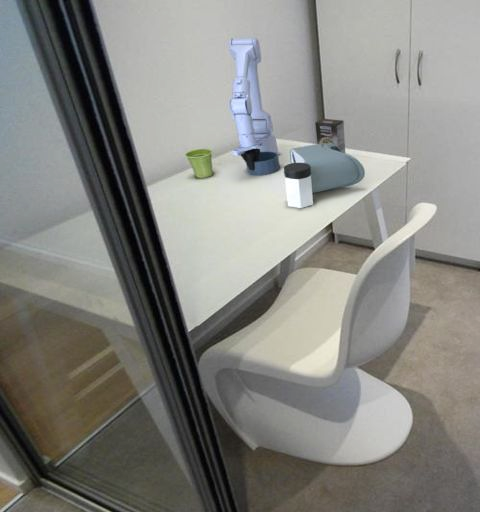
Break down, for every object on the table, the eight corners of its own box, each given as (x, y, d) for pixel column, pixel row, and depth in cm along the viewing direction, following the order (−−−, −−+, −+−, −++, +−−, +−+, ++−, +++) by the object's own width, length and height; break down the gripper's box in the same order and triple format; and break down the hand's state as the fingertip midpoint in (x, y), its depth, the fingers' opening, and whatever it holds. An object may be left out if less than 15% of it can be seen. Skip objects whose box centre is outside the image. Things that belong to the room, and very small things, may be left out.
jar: (281, 205, 137) (277, 169, 131) (294, 196, 143) (290, 161, 137) (307, 209, 134) (303, 172, 128) (318, 200, 141) (316, 164, 135)
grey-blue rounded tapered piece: (292, 179, 157) (287, 144, 150) (341, 169, 164) (338, 135, 157) (313, 200, 140) (309, 162, 133) (366, 188, 147) (364, 151, 141)
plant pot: (221, 170, 166) (216, 148, 162) (211, 180, 158) (205, 157, 154) (198, 170, 167) (192, 148, 163) (186, 179, 159) (180, 157, 155)
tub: (261, 162, 173) (259, 150, 171) (286, 166, 169) (284, 153, 166) (241, 172, 164) (238, 159, 162) (266, 176, 160) (263, 163, 157)
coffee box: (318, 163, 170) (314, 122, 161) (326, 158, 175) (322, 118, 166) (339, 166, 167) (335, 124, 158) (346, 161, 172) (343, 119, 163)
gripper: (240, 139, 147) (248, 177, 154) (268, 128, 158) (274, 164, 165) (224, 137, 150) (233, 174, 157) (252, 126, 161) (259, 162, 168)
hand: (253, 169), depth 161 cm, fingers closed on tub
